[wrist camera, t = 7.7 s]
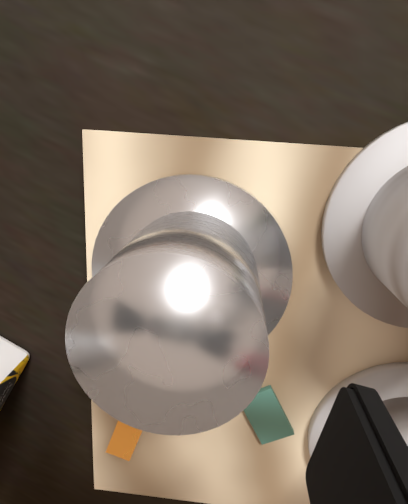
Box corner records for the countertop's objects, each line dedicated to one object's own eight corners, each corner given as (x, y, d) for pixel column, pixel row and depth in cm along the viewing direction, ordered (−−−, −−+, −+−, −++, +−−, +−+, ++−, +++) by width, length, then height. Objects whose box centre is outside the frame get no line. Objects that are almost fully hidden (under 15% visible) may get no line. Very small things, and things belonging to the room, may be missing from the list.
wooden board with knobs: (565, 124, 16) (915, 109, 8) (438, 501, 22) (556, 713, 14) (98, 96, 17) (-29, 58, 9) (105, 460, 24) (35, 632, 15)
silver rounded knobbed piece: (130, 141, 16) (57, 142, 9) (326, 221, 16) (385, 276, 10) (52, 387, 20) (-35, 505, 13) (209, 448, 20) (197, 591, 14)
